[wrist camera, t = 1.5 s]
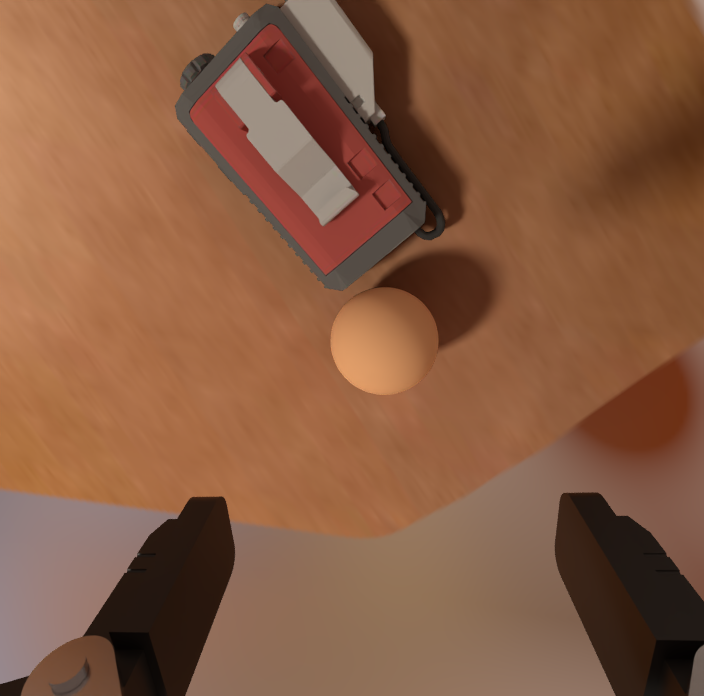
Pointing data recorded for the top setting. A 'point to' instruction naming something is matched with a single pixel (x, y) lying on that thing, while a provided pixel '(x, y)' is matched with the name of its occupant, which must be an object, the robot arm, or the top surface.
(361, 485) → the top surface
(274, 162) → the walkie-talkie
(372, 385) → the ball
